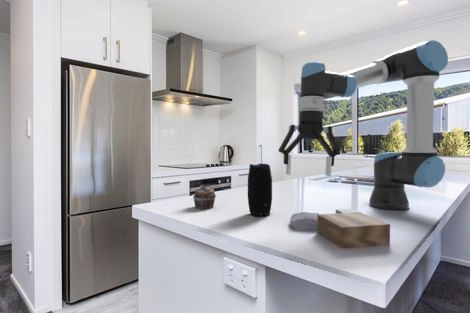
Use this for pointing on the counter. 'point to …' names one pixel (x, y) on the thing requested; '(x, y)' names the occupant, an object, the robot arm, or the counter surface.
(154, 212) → the counter surface
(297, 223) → the stone block
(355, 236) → the walnut block
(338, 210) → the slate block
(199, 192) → the cupcake
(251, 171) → the portable speaker
